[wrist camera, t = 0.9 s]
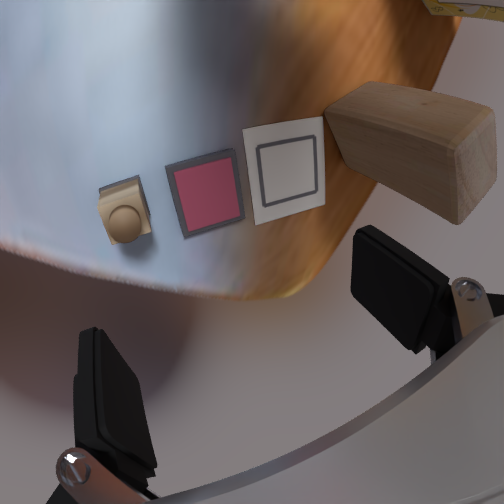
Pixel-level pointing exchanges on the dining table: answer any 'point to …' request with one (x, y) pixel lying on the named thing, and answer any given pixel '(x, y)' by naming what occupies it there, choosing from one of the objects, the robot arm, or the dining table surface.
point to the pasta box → (467, 8)
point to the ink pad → (206, 191)
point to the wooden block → (419, 144)
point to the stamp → (124, 210)
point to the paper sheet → (285, 167)
